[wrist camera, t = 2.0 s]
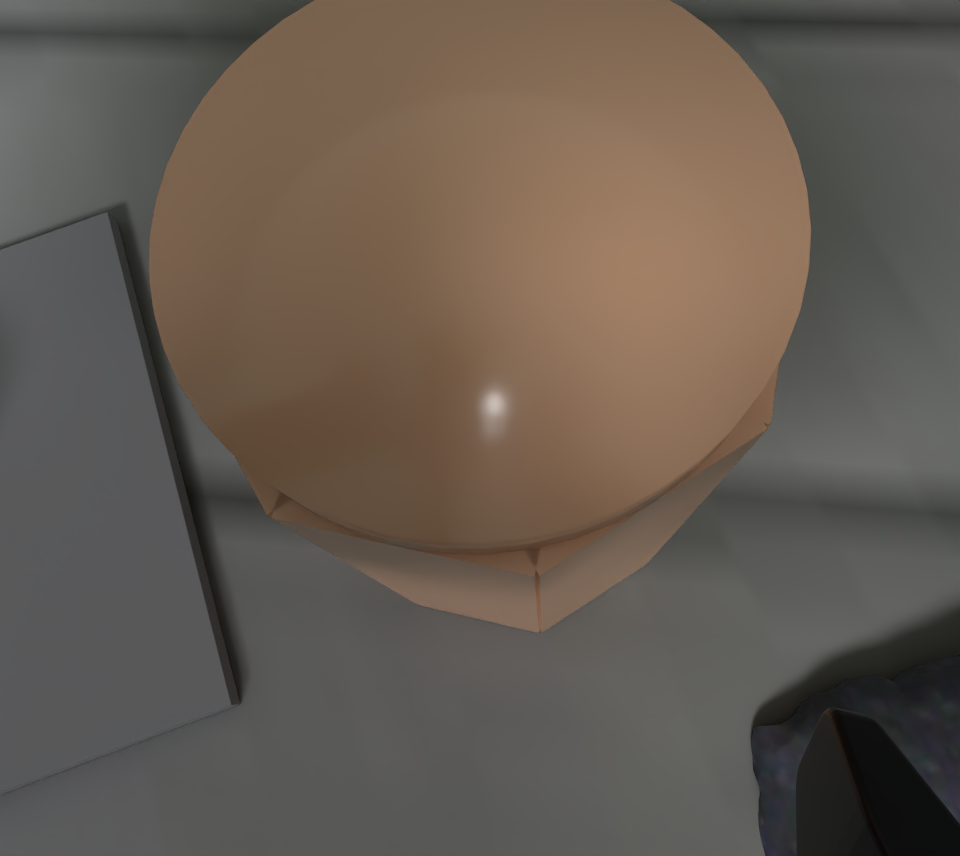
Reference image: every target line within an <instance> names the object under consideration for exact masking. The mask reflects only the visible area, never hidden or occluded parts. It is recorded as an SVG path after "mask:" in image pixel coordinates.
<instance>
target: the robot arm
mask: <svg viewBox="0 0 960 856" xmlns="http://www.w3.org/2000/svg"><path fill="white" fill-rule="evenodd" d="M796 856H960V823H959V822H958V821H957V820H956V818H955V817H954V816H953V815H952V813H951V812H950V811H949V810H948V809H947V807H946V806H945V805H944V804H943V802H942V801H941V800H940V799H939V797H938V796H937V795H936V794H935V792H934V791H933V790H932V789H931V787H930V786H929V785H928V784H927V782H926V781H925V780H924V779H923V777H922V776H921V775H920V774H919V772H918V771H917V770H916V769H915V767H914V766H913V765H912V764H911V763H910V761H909V760H908V759H907V758H906V756H905V755H904V754H903V753H902V751H901V750H900V749H899V748H898V746H897V745H896V744H895V743H894V741H893V740H892V739H891V738H890V736H889V735H888V734H887V733H886V731H885V730H884V729H883V728H882V726H881V725H880V724H879V723H878V722H877V721H876V720H875V719H873V718H872V717H870V716H868V715H865V714H860V713H856V712H852V711H848V710H844V709H839V708H828V709H826V710H825V711H824V712H823V714H822V715H821V717H820V719H819V721H818V723H817V725H816V728H815V730H814V732H813V734H812V737H811V739H810V741H809V743H808V746H807V748H806V750H805V752H804V754H803V757H802V759H801V761H800V764H799V767H798V771H797V777H796Z"/></svg>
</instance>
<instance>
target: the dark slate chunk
mask: <svg viewBox="0 0 960 856" xmlns="http://www.w3.org/2000/svg"><path fill="white" fill-rule="evenodd" d="M828 708H839V709H844V710H848V711H852V712H856V713H860V714H865V715H868V716H870V717H872V718H873V719H875V720H876V721H877V722H878V723H879V724H880V725H881V726H882V728H883V729H884V730H885V731H886V733H887V734H888V735H889V736H890V738H891V739H892V740H893V741H894V743H895V744H896V745H897V746H898V748H899V749H900V750H901V751H902V753H903V754H904V755H905V756H906V758H907V759H908V760H909V761H910V763H911V764H912V765H913V766H914V767H915V769H916V770H917V771H918V772H919V774H920V775H921V776H922V777H923V779H924V780H925V781H926V782H927V784H928V785H929V786H930V787H931V789H932V790H933V791H934V792H935V794H936V795H937V796H938V797H939V799H940V800H941V801H942V802H943V804H944V805H945V806H946V807H947V809H948V810H949V811H950V812H951V813H952V815H953V816H954V817H955V818H956V820H957V821H958V822H959V823H960V655H959V656H955V657H950V658H944V659H939V660H936V661H933V662H931V663H929V664H927V665H917V666H915V667H913V668H910V669H908V670H905V671H903V672H902V673H900V674H899V675H898V676H896V677H895V678H894V679H893V680H892V681H890V680H888V679H886V678H884V677H880V676H866V677H859V678H850V679H846V680H845V681H843V682H842V683H841V684H839V685H838V686H836V687H835V688H833V689H831V690H829V691H825V692H820V693H816V694H814V695H812V696H811V697H809V698H808V699H807V700H806V701H805V702H804V703H803V704H802V705H801V706H800V707H799V708H798V709H797V710H796V711H795V712H794V714H793V715H792V717H791V718H790V719H789V720H787V721H785V722H783V723H781V724H778V725H769V726H757V727H754V729H753V735H752V753H753V770H754V773H755V776H756V779H757V781H758V784H759V787H760V797H759V813H758V821H759V830H760V836H761V840H762V844H763V848H764V852H765V855H766V856H796V777H797V771H798V767H799V764H800V761H801V759H802V757H803V754H804V752H805V750H806V748H807V746H808V743H809V741H810V739H811V737H812V734H813V732H814V730H815V728H816V725H817V723H818V721H819V719H820V717H821V715H822V714H823V712H824V711H825V710H826V709H828Z"/></svg>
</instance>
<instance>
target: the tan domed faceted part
mask: <svg viewBox="0 0 960 856" xmlns="http://www.w3.org/2000/svg"><path fill="white" fill-rule="evenodd" d="M810 240H811V224H810V213H809V203H808V193H807V187H806V183H805V179H804V176H803V172H802V168H801V164H800V160H799V156H798V152H797V150H796V147H795V145H794V143H793V140H792V138H791V135H790V133H789V131H788V128H787V126H786V124H785V121H784V119H783V117H782V115H781V113H780V112H779V110H778V108H777V107H776V105H775V103H774V102H773V100H772V98H771V97H770V95H769V93H768V92H767V90H766V88H765V87H764V85H763V84H762V82H761V81H760V80H759V79H758V78H757V76H756V75H755V74H754V73H753V71H752V70H751V69H750V68H749V66H748V65H747V64H746V63H745V61H744V60H743V59H742V58H741V56H740V55H739V54H738V53H737V52H736V51H734V50H733V49H732V48H731V47H730V46H729V45H728V44H727V43H726V42H725V41H724V40H723V39H722V38H721V37H720V36H719V35H718V34H717V33H716V32H714V31H713V30H712V29H711V28H710V27H708V26H707V25H706V24H704V23H703V22H701V21H700V20H699V19H697V18H696V17H695V16H693V15H692V14H691V13H689V12H688V11H686V10H685V9H684V8H682V7H681V6H679V5H677V4H675V3H674V2H672V1H670V0H314V1H313V2H311V3H309V4H308V5H306V6H304V7H303V8H301V9H300V10H298V11H296V12H295V13H293V14H292V15H290V16H288V17H287V18H285V19H284V20H282V21H281V22H280V23H278V24H277V25H276V26H274V27H273V28H272V29H271V30H269V31H268V32H267V33H266V34H264V35H263V36H262V37H260V38H259V39H258V40H257V41H255V42H254V43H253V44H252V45H251V46H250V47H249V48H248V49H247V50H246V51H245V52H244V53H243V54H242V55H241V56H240V57H239V58H237V59H236V60H235V61H234V62H233V63H232V64H231V65H230V66H229V67H228V68H227V69H226V70H225V72H224V73H223V74H222V75H221V77H220V78H219V79H218V80H217V82H216V83H215V84H214V85H213V87H212V88H211V89H210V90H209V91H208V93H207V94H206V95H205V96H204V98H203V99H202V100H201V102H200V104H199V105H198V107H197V108H196V110H195V112H194V113H193V115H192V116H191V118H190V120H189V121H188V123H187V124H186V126H185V128H184V129H183V131H182V133H181V135H180V137H179V140H178V142H177V144H176V146H175V148H174V150H173V153H172V155H171V157H170V159H169V161H168V163H167V166H166V169H165V173H164V176H163V179H162V182H161V185H160V189H159V192H158V195H157V198H156V203H155V209H154V215H153V221H152V227H151V233H150V251H149V279H150V287H151V295H152V303H153V312H154V316H155V319H156V323H157V326H158V330H159V334H160V337H161V341H162V344H163V348H164V351H165V353H166V355H167V358H168V360H169V362H170V364H171V367H172V369H173V371H174V373H175V375H176V378H177V380H178V382H179V384H180V386H181V388H182V389H183V391H184V393H185V394H186V396H187V397H188V399H189V400H190V402H191V404H192V405H193V407H194V408H195V410H196V411H197V413H198V414H199V416H200V418H201V419H202V420H203V422H204V423H205V424H206V425H207V426H208V427H209V428H210V430H211V431H212V432H213V433H214V434H215V435H216V436H217V438H218V439H219V440H220V441H221V442H222V443H223V444H224V446H225V447H226V448H227V449H228V450H229V451H230V452H231V453H232V454H233V455H234V456H235V457H236V459H237V461H238V463H239V465H240V467H241V468H242V470H243V472H244V474H245V476H246V478H247V479H248V481H249V483H250V485H251V487H252V489H253V490H254V492H255V494H256V496H257V498H258V500H259V501H260V503H261V505H262V507H263V509H264V511H265V512H266V514H267V515H268V516H269V517H271V518H272V519H273V520H275V521H277V522H278V523H280V524H282V525H283V526H285V527H287V528H289V529H290V530H292V531H294V532H295V533H297V534H299V535H300V536H302V537H304V538H305V539H307V540H309V541H311V542H312V543H314V544H316V545H317V546H319V547H321V548H322V549H324V550H326V551H327V552H329V553H331V554H332V555H334V556H336V557H338V558H339V559H341V560H343V561H344V562H346V563H348V564H349V565H351V566H353V567H354V568H356V569H358V570H360V571H361V572H363V573H365V574H366V575H368V576H370V577H371V578H373V579H375V580H376V581H378V582H380V583H382V584H383V585H385V586H387V587H388V588H390V589H392V590H393V591H395V592H397V593H398V594H400V595H402V596H404V597H405V598H407V599H409V600H410V601H412V602H414V603H415V604H417V605H420V606H425V607H429V608H433V609H437V610H442V611H446V612H450V613H455V614H459V615H463V616H468V617H472V618H476V619H480V620H485V621H489V622H493V623H498V624H502V625H506V626H511V627H515V628H519V629H524V630H528V631H532V632H536V633H540V630H541V632H544V631H545V630H547V629H548V628H550V627H551V626H553V625H555V624H556V623H558V622H559V621H561V620H562V619H564V618H565V617H567V616H568V615H570V614H571V613H573V612H574V611H576V610H577V609H579V608H581V607H582V606H584V605H585V604H587V603H588V602H590V601H591V600H593V599H594V598H596V597H597V596H599V595H600V594H602V593H603V592H605V591H606V590H608V589H610V588H611V587H613V586H614V585H616V584H617V583H619V582H620V581H622V580H623V579H625V578H626V577H628V576H629V575H631V574H632V573H634V572H636V571H637V570H639V569H640V568H642V567H643V566H645V565H646V564H647V563H648V562H649V561H650V560H651V559H652V558H653V556H654V555H655V554H656V553H657V552H658V551H659V550H660V549H661V548H662V546H663V545H664V544H665V543H666V542H667V541H668V540H669V539H670V537H671V536H672V535H673V534H674V533H675V532H676V531H677V530H678V529H679V527H680V526H681V525H682V524H683V523H684V522H685V521H686V520H687V518H688V517H689V516H690V515H691V514H692V513H693V512H694V511H695V509H696V508H697V507H698V506H699V505H700V504H701V503H702V502H703V501H704V499H705V498H706V497H707V496H708V495H709V494H710V493H711V492H712V490H713V489H714V488H715V487H716V486H717V485H718V484H719V483H720V481H721V480H722V479H723V478H724V477H725V476H726V475H727V474H728V473H729V471H730V470H731V469H732V468H733V467H734V466H735V465H736V464H737V462H738V461H739V460H740V459H741V458H742V457H743V456H744V455H745V454H746V452H747V451H748V450H749V449H750V448H751V447H752V446H753V445H754V443H755V442H756V441H757V440H758V439H759V438H760V437H761V436H762V434H763V433H764V432H765V431H766V430H767V429H768V427H769V426H770V424H771V418H772V411H773V404H774V397H775V389H776V382H777V375H778V368H779V360H780V359H781V357H782V355H783V353H784V351H785V350H786V347H787V344H788V342H789V339H790V336H791V334H792V331H793V328H794V326H795V323H796V320H797V318H798V315H799V312H800V309H801V305H802V300H803V295H804V290H805V286H806V281H807V276H808V271H809V258H810Z"/></svg>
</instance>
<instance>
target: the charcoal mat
mask: <svg viewBox="0 0 960 856" xmlns="http://www.w3.org/2000/svg"><path fill="white" fill-rule="evenodd" d="M239 704H240V701H239V697H238V693H237V689H236V685H235V681H234V677H233V673H232V669H231V666H230V662H229V658H228V654H227V650H226V646H225V642H224V638H223V634H222V630H221V626H220V622H219V618H218V615H217V611H216V607H215V603H214V599H213V595H212V591H211V587H210V583H209V579H208V575H207V571H206V567H205V564H204V560H203V556H202V552H201V548H200V544H199V540H198V536H197V532H196V528H195V524H194V520H193V516H192V513H191V509H190V505H189V501H188V497H187V493H186V489H185V485H184V481H183V477H182V473H181V469H180V465H179V462H178V458H177V454H176V450H175V446H174V442H173V438H172V434H171V430H170V426H169V422H168V418H167V415H166V411H165V407H164V403H163V399H162V395H161V391H160V387H159V383H158V379H157V375H156V371H155V367H154V364H153V360H152V356H151V352H150V348H149V344H148V340H147V336H146V332H145V328H144V324H143V320H142V316H141V313H140V309H139V305H138V301H137V297H136V293H135V289H134V285H133V281H132V277H131V273H130V269H129V265H128V262H127V258H126V254H125V250H124V246H123V242H122V238H121V234H120V230H119V226H118V223H117V222H116V221H115V220H114V219H113V218H112V217H111V215H110V214H109V213H108V212H105V213H103V214H100V215H97V216H94V217H91V218H88V219H86V220H83V221H80V222H77V223H74V224H72V225H69V226H66V227H63V228H60V229H58V230H55V231H52V232H49V233H46V234H43V235H41V236H38V237H35V238H32V239H29V240H27V241H24V242H21V243H18V244H15V245H12V246H10V247H7V248H4V249H1V250H0V795H2V794H4V793H7V792H10V791H12V790H15V789H17V788H20V787H23V786H25V785H28V784H31V783H33V782H36V781H39V780H41V779H44V778H47V777H49V776H52V775H54V774H57V773H60V772H62V771H65V770H68V769H70V768H73V767H76V766H78V765H81V764H84V763H86V762H89V761H91V760H94V759H97V758H99V757H102V756H105V755H107V754H110V753H113V752H115V751H118V750H121V749H123V748H126V747H128V746H131V745H134V744H136V743H139V742H142V741H144V740H147V739H150V738H152V737H155V736H158V735H160V734H163V733H165V732H168V731H171V730H173V729H176V728H179V727H181V726H184V725H187V724H189V723H192V722H195V721H197V720H200V719H202V718H205V717H208V716H210V715H213V714H216V713H218V712H221V711H224V710H226V709H229V708H232V707H234V706H237V705H239Z"/></svg>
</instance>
